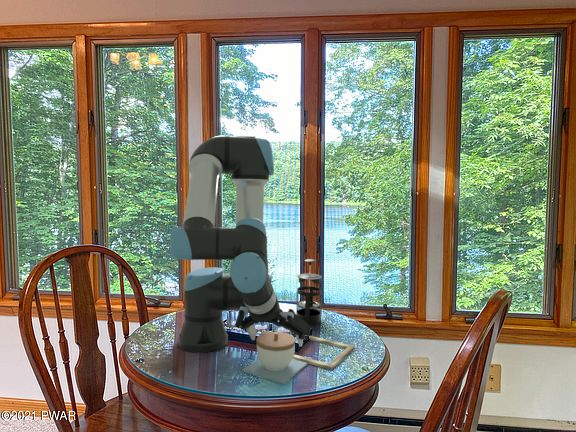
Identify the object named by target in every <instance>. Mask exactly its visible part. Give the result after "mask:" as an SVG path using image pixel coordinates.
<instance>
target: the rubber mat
mask: <svg viewBox="0 0 576 432" xmlns="http://www.w3.org/2000/svg"><path fill="white" fill-rule="evenodd" d="M307 366H308V363H306V362H302V361H299V360H295V359H292V361H291V363H290V364H289V365H288V366H287V367H286V368H285V369H284V370H281V371H270V370H267V369H266V368H265V367H264V365H263V364H262V363H261V362H260V360H259V358H257V359H256V360H254V361H253V362H251V363H250V364H248V365H247V366H245V367H243V368H242V370H241V371H242V372H244V373H247V374H249V375H253V376H256V377H260V378H262V379H265V380H268V381H272V382H274V383H278V384H280V385H285V384H286V383H288V381H290V380H292V378H294V377H295V376H296V375H297V374H298V373H300V372H301V371H302V370H303V369H305V368H306V367H307Z"/></svg>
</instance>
